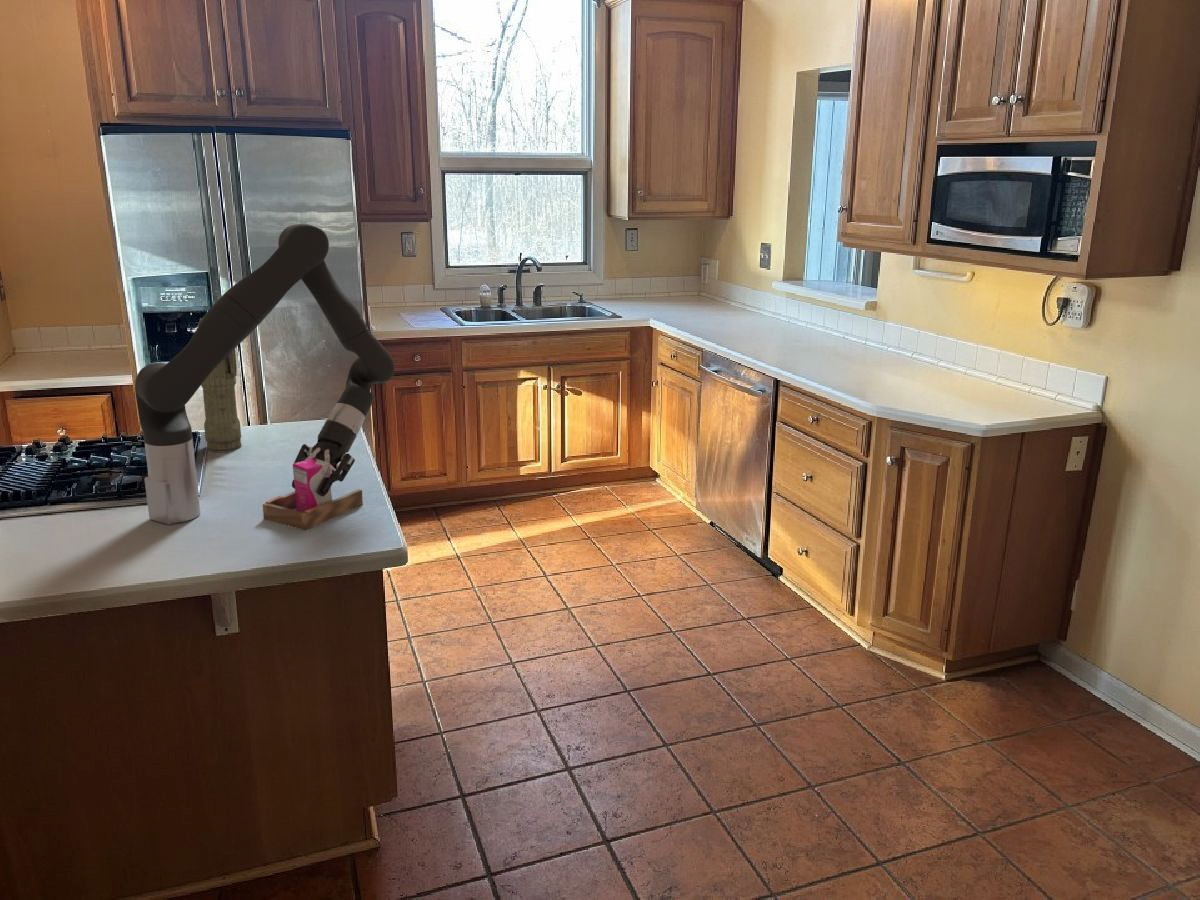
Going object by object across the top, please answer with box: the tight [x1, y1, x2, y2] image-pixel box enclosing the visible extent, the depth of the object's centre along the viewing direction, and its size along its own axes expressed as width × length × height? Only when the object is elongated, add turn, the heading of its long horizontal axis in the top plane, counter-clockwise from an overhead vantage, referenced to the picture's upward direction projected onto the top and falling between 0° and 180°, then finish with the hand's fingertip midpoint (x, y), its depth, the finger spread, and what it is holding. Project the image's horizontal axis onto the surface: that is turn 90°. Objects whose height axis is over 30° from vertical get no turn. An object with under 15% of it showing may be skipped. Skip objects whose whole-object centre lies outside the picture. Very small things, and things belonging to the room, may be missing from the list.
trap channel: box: [262, 488, 364, 531], centre depth 199 cm, size 18×12×4 cm, turn 154°
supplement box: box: [292, 458, 333, 512], centre depth 198 cm, size 6×6×12 cm
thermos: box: [198, 317, 242, 453], centre depth 236 cm, size 9×12×35 cm
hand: (307, 491), depth 197 cm, fingers closed on supplement box, 6 cm apart
